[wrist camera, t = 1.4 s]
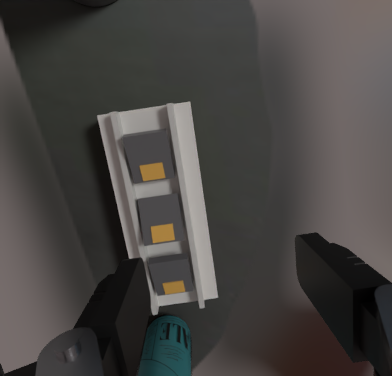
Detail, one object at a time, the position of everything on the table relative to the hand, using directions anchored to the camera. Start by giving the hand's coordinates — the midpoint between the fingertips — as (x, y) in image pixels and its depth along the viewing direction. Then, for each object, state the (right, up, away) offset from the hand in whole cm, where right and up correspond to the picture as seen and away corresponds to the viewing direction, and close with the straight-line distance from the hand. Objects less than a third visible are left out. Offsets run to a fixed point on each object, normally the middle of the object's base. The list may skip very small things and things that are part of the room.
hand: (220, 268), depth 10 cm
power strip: (-5, +1, +24) cm, 24 cm away
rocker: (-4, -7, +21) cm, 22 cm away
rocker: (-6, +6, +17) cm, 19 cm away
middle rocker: (-5, 0, +19) cm, 20 cm away
